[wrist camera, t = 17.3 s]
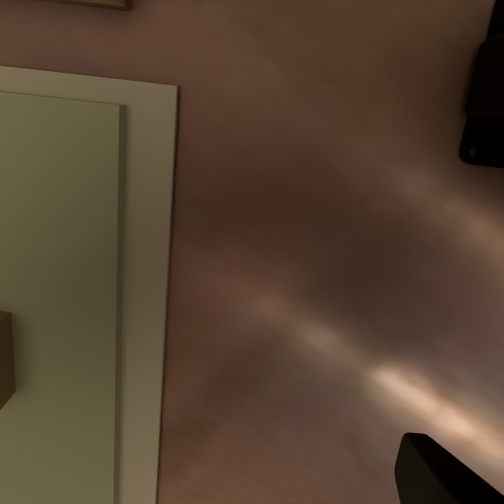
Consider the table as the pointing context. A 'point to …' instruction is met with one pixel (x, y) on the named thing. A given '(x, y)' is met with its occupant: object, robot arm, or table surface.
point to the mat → (133, 254)
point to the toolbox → (99, 3)
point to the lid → (60, 298)
